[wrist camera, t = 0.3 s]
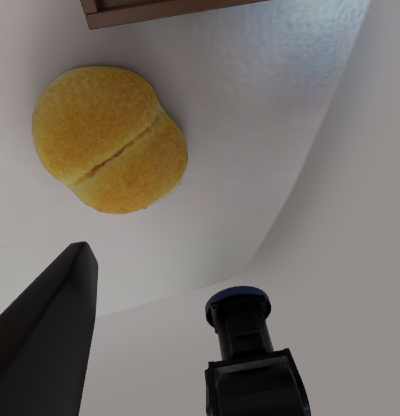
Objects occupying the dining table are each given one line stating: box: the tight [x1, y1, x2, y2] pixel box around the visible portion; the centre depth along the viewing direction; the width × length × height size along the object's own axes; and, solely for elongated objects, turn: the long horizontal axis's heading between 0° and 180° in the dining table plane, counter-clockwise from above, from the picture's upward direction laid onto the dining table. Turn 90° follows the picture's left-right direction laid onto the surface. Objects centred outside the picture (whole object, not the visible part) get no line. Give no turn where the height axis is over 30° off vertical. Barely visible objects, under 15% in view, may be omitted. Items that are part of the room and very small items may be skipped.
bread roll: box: [32, 66, 188, 214], centre depth 18 cm, size 8×9×4 cm
